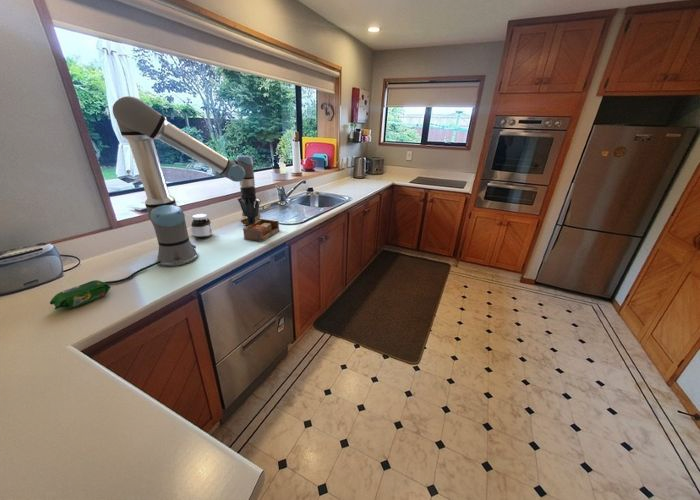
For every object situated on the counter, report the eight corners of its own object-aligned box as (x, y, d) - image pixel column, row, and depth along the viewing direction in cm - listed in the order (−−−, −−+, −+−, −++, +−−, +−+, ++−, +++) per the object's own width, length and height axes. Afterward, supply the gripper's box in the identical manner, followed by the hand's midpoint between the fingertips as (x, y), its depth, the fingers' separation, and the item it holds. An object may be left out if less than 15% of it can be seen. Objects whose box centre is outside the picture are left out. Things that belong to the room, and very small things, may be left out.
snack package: (48, 309, 90) (42, 296, 88) (105, 287, 103) (100, 275, 101) (59, 316, 87) (52, 303, 85) (116, 292, 100) (111, 280, 98)
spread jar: (205, 240, 147) (202, 218, 143) (184, 239, 147) (180, 217, 143) (216, 232, 158) (213, 212, 154) (196, 231, 158) (192, 211, 154)
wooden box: (262, 241, 148) (261, 231, 146) (244, 238, 151) (243, 228, 148) (279, 230, 164) (278, 220, 161) (262, 228, 166) (261, 218, 164)
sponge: (258, 228, 170) (265, 212, 186) (253, 217, 166) (261, 201, 182) (237, 231, 171) (246, 215, 187) (232, 220, 166) (242, 204, 183)
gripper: (262, 186, 150) (266, 227, 159) (241, 184, 153) (246, 224, 162) (254, 188, 143) (258, 232, 153) (232, 186, 146) (238, 229, 156)
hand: (252, 228), depth 157 cm, fingers closed
